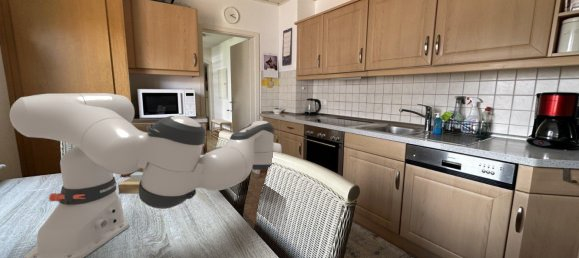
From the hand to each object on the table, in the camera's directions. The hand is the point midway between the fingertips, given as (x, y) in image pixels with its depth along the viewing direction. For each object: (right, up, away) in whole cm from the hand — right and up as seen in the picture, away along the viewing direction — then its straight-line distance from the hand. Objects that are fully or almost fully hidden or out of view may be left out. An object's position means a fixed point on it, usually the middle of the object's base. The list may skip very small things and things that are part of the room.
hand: (208, 152), depth 102 cm
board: (-22, -15, 0) cm, 26 cm away
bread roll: (-42, -12, +18) cm, 47 cm away
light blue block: (-20, -11, 0) cm, 23 cm away
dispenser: (-28, -13, +11) cm, 33 cm away
